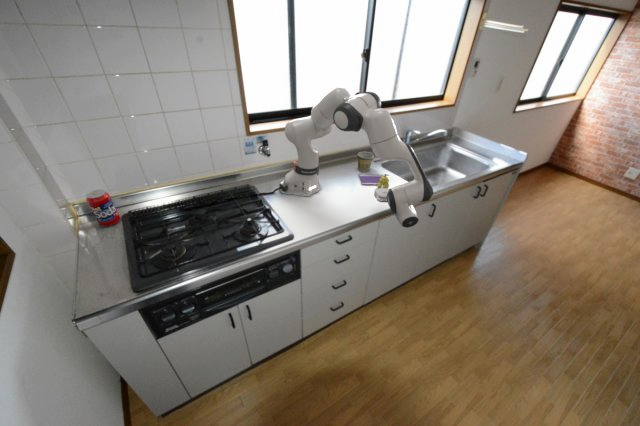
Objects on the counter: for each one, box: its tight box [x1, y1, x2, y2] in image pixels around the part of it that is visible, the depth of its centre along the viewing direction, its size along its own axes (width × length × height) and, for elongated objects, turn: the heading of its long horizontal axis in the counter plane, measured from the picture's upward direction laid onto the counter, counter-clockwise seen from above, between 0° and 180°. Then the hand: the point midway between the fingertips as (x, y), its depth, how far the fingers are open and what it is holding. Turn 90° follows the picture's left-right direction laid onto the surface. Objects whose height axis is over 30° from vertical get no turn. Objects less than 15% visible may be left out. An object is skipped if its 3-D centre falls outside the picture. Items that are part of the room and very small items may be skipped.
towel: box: [358, 174, 384, 186], centre depth 163 cm, size 15×12×1 cm
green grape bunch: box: [376, 173, 390, 189], centre depth 150 cm, size 6×6×11 cm
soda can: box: [85, 189, 121, 227], centre depth 116 cm, size 8×8×15 cm
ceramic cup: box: [357, 151, 375, 173], centre depth 172 cm, size 13×10×10 cm
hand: (391, 186), depth 137 cm, fingers open, 8 cm apart
